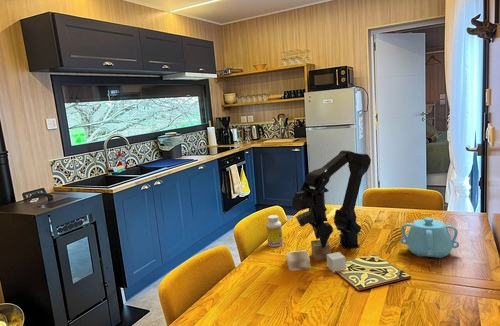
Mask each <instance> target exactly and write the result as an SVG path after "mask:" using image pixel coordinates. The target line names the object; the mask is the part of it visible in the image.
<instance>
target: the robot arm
mask: <svg viewBox="0 0 500 326" xmlns="http://www.w3.org/2000/svg"><path fill="white" fill-rule="evenodd" d="M371 162H372V159H371V158H370V155H369V154H367V153H358V152H355V151H354V152H353V151H351V150H341V151H339V153H338V154H337V155H335V156H334V157H333V158H331V159H330V160H329V161H328V162H327V163H326V164H324V165H323V166H321V167H320V168H317V169H313V170H312V171H310V172H308V173H307V174H306V175H305V179H304V182H303V184H302V186H301V188H300V192H298V191H297V192H294V196H293V198H292V200H291V205H292V208H293V209H294V210H295V211H296V212H301V211H304V210H307V211H304V212H302V213H300V214H298V215H297V216H295V219H296V220H297V223H298V224H299V226H300V227H305V226H306V225H308V224H309V225H310V226H311V227H312V230H313V233H314V237H315V240H320V242H321V246H322V248H325V246H326V243H327V242H328V241H329V238H331V234H333V232H334V228H333V226H332V225H331V224H330V223H329V222H328V217H327V213H326V212H327V210H328V209H327V207H326V198H325V194H326V193H328V192H329V189H328V188H327V187H326V186H327V184H328V183H329V182H330V179H331V177H332V176H333V175H334V174H335V173H337V172H338V171H339V170H341V169H342V168H343V167H344V166H345V165H346V164H347V163H348V165H347V166H348V171H349V173H350V174H349V177H348V181H347V185H346V189H345V194H344V197H343V202H342V205H341V207H340V208H339V209H336V210H335V212H334V216H333V224H334V226H335V227H336V230H337V231H340V233H339V235H338V236H339V237H338V238H339V245H341V247H342V248H343V249H351V248H352V249H353V248H359V247H360V244H359V238H358V234H359V233H361V229H362V226H361V225H360V224H359V223H357V214H356V210H355V208H356V206H357V205H356V203H357V200H358V196H359V192H360V188H361V185H362V178H363V176H364V175H365V174H366V173H367V172H368V171H369V168H370V165H371Z"/></svg>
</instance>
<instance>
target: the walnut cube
mask: <svg viewBox="0 0 500 326" xmlns="http://www.w3.org/2000/svg"><path fill="white" fill-rule="evenodd" d="M310 246H311V256H312V258H313V260H314V262H318V261H319V262H320V261H327V255H326V254H331V245H330V244H329V242H328V241H327V243H326V246H325V248H322V246H321V242H320V239H315V240H311V241H310Z"/></svg>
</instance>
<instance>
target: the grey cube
mask: <svg viewBox="0 0 500 326" xmlns="http://www.w3.org/2000/svg"><path fill="white" fill-rule="evenodd" d="M326 255H327V260H326V266H327V268H328V269H329V270H330V271H331V272H332V273H336V272H335V271H337V270H341V269H346V270H347V263H346V256H345V255H343V254H342V253H341V252H340V251H337V252H336V251H335V252H333V253H332V252H330V254H326Z"/></svg>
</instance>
